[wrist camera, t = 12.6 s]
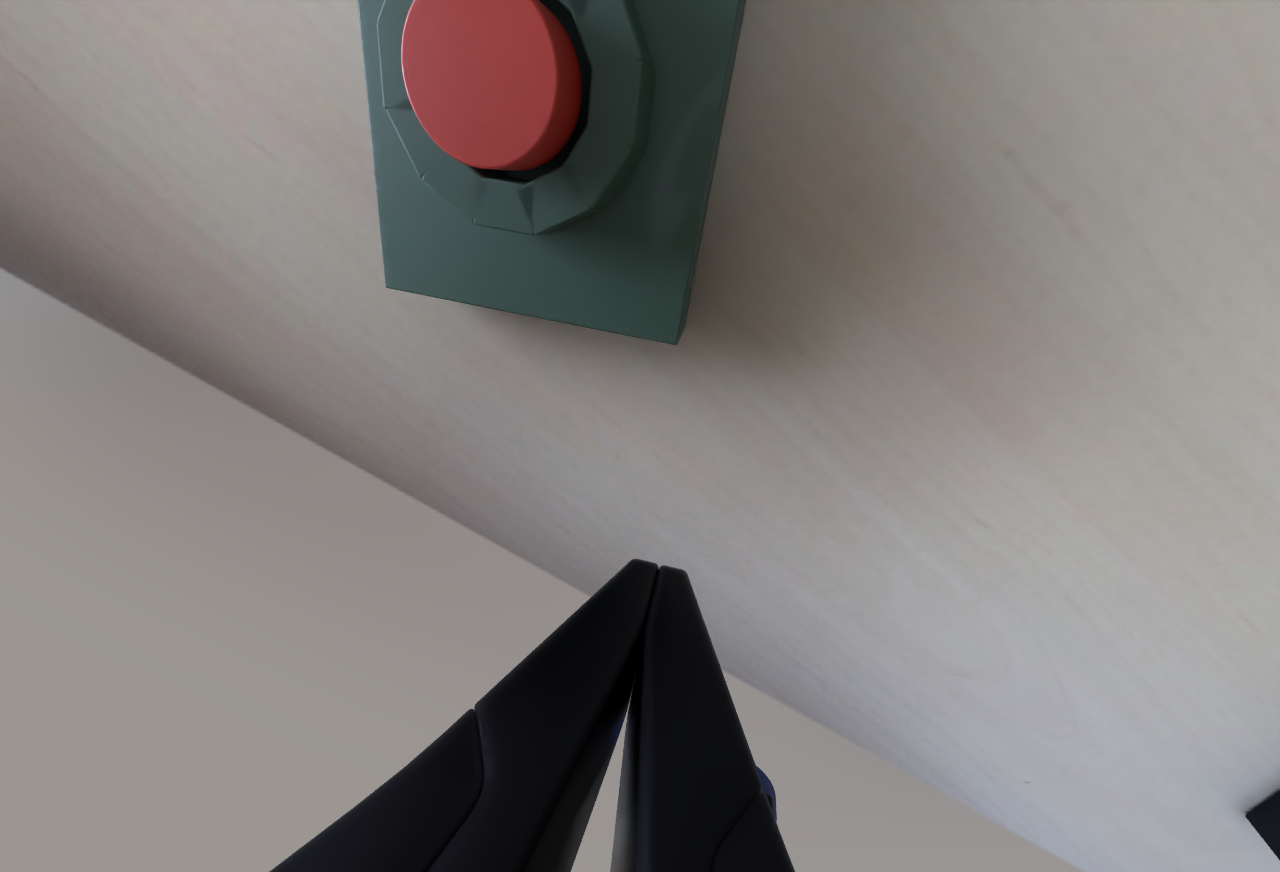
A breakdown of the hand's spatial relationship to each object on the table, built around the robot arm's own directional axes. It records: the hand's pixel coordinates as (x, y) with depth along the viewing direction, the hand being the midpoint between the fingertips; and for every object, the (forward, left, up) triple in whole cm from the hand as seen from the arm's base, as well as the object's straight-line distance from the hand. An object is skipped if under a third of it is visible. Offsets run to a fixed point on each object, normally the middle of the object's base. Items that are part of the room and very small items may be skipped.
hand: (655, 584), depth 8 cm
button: (+7, +6, -8) cm, 12 cm away
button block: (+7, +6, -12) cm, 15 cm away
